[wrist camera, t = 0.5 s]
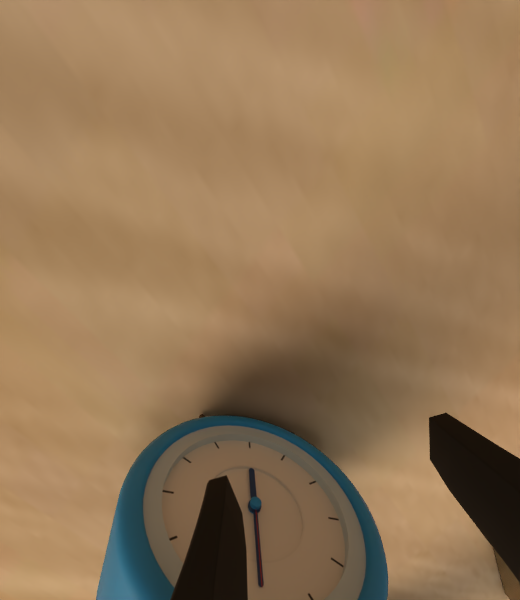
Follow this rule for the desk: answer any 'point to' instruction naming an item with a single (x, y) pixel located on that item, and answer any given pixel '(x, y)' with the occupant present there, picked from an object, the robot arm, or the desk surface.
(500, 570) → the button base
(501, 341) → the desk surface
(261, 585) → the alarm clock
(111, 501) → the desk surface
